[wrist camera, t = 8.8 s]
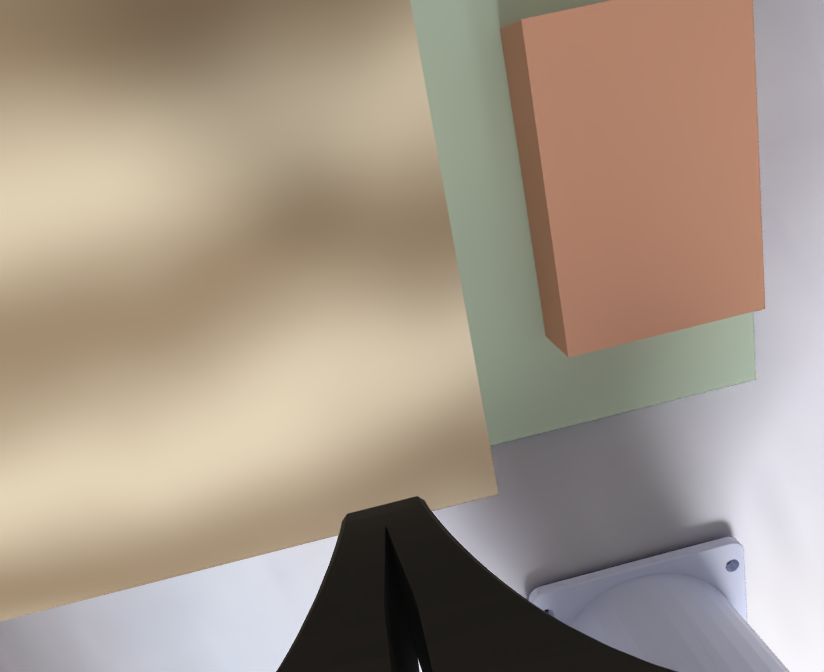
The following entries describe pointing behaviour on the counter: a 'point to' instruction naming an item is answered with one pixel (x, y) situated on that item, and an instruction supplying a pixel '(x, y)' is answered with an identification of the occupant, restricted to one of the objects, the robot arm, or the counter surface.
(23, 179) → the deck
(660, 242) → the tile
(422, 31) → the mat
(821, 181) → the counter surface
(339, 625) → the robot arm
